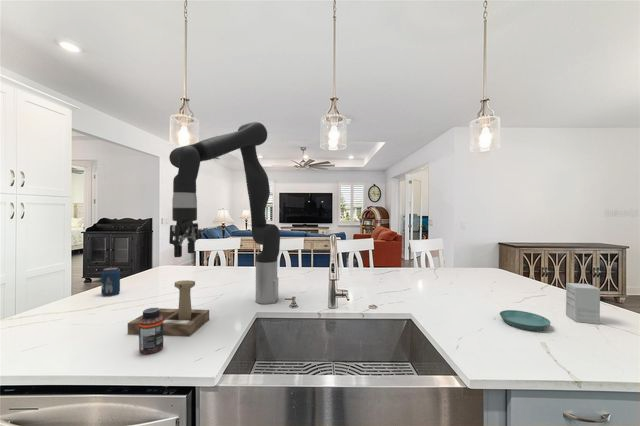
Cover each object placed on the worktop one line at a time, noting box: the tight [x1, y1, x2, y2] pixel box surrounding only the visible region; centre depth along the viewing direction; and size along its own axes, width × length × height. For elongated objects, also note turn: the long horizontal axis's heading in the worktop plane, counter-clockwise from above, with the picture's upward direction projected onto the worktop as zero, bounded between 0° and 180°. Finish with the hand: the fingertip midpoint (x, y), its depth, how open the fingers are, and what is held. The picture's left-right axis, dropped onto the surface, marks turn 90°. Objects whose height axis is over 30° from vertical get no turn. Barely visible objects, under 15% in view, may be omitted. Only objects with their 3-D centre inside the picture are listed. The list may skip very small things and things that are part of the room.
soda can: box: [100, 266, 121, 297], centre depth 135 cm, size 7×7×12 cm
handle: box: [174, 280, 196, 321], centre depth 99 cm, size 5×6×15 cm
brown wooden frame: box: [127, 307, 210, 337], centre depth 99 cm, size 20×14×4 cm
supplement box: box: [565, 282, 601, 325], centre depth 108 cm, size 7×7×13 cm
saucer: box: [498, 309, 551, 331], centre depth 104 cm, size 15×15×3 cm
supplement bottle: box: [138, 307, 164, 355], centre depth 83 cm, size 6×6×11 cm
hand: (185, 255), depth 99 cm, fingers open, 8 cm apart
